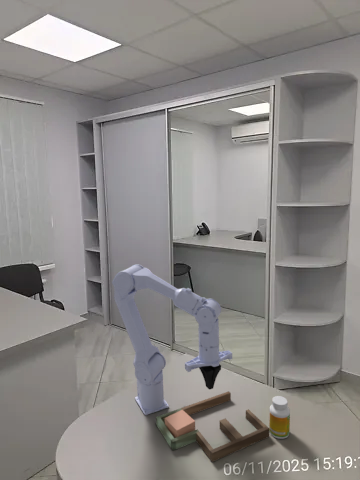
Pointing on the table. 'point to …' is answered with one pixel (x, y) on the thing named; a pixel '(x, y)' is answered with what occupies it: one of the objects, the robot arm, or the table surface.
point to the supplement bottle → (279, 418)
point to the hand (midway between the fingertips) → (209, 387)
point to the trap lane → (231, 433)
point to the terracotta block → (179, 423)
